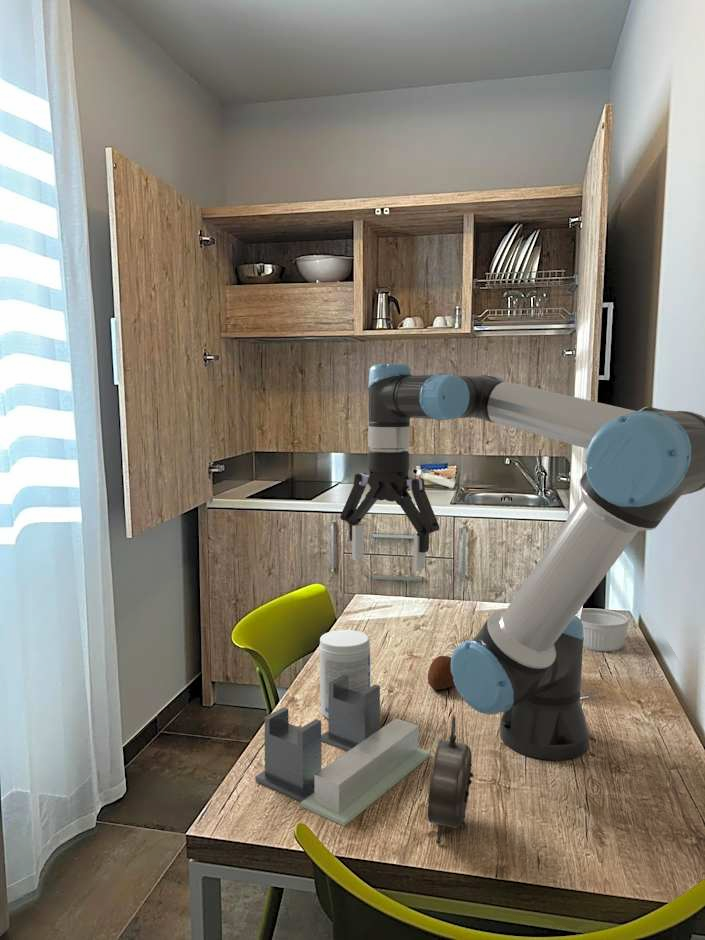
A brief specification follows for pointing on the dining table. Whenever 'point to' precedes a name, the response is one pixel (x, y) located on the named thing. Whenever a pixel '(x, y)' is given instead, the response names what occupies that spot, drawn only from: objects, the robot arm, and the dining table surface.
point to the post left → (291, 756)
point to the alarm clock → (449, 783)
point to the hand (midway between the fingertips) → (387, 563)
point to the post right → (351, 714)
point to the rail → (365, 765)
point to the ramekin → (603, 629)
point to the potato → (440, 673)
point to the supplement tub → (343, 662)
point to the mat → (371, 794)
